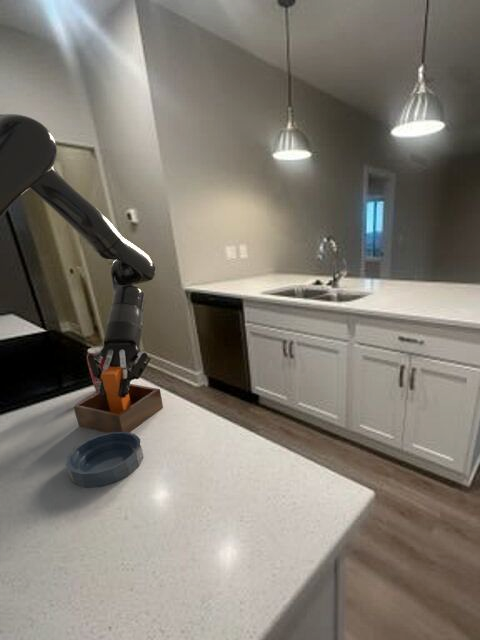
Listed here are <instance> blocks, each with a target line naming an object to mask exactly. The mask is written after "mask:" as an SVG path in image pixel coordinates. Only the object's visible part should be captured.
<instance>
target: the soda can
mask: <svg viewBox="0 0 480 640" xmlns="http://www.w3.org/2000/svg"><path fill="white" fill-rule="evenodd" d="M103 347H104V344H100V345H95V346H91V347H90V348H88V349H87V355H86V362H87V366H88V371H89V374H90V377H91V381H92V385H93V387H94V390H95V392H96V393H98V392H100V386H101V380H99V379H97V378H96V377H94V376H93V373H92V370H91V367H90V363H89V360H88V355H89V354H92V355H96V354H98V353H100V352H101V350H102V348H103ZM104 363H105V360H104V359H103V358H102V359H101V363H100V366H101V369H102V372H103V366H104Z"/></svg>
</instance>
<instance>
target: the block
mask: <svg viewBox="0 0 480 640" xmlns="http://www.w3.org/2000/svg"><path fill="white" fill-rule="evenodd" d="M101 377H102V381H103V385H104V388H105V392H106V396H107V400H108V404H109V408H110V411H111V412H112V413H117V414H119V413H121V412H122V411H124V410H125V409H127V408H128V407H130V406H131V401H130V396H129V393H128V395H126V397H125V398H121V397H119V396H118V392H119V387H120V380H122V369H121V368H120V367H109V368H107V369H106V370H105V371H104V372H103V373H102V374H101Z"/></svg>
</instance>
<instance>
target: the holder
mask: <svg viewBox="0 0 480 640" xmlns="http://www.w3.org/2000/svg"><path fill="white" fill-rule="evenodd" d="M129 396H130V401H131V406H130V407H128V408H127V409H125V410H124V411H122V412H121V413H119V414H117V413H112V412H111V411H110V408H109V404H108V400H107V398H104V397H102V396H101V394H100V392H96V393H95V394H93V395H90V396H89V397H87V398H86V399H84V400H82V401H81V402H78V403H77V404H75V405H73V406H72V408H73V411H74V414H75V418H76V421H77V424H78V427H80V428H84V429H88V430H92V431H97V432H101V433H104V434H106V433H110V432H129V433H132V432H133V431H134V430H135V429H137V428H138V427H140V426H141V425H142V424H143V423H145V422H146V421H147V420H149V419H150V418H151V417H153V416H154V415H156V414H157V413H158V412H160V411H161V410H162V409H164V405H163V398H162V393H161V389H160V388H157V387H150V386H145V385H139V384H133V383H130V386H129Z"/></svg>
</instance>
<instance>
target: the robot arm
mask: <svg viewBox="0 0 480 640" xmlns="http://www.w3.org/2000/svg"><path fill="white" fill-rule="evenodd" d="M57 157H58V147H57V143H56V141H55V138H54V136H53V135H52V132H50V130H49V129H48V128H47V126H45V125H44V124H43V123H41V122H40V121H38V120H36V119H34V118H32V117H29V116H27V115H22V114H17V113H5V114H1V113H0V220H1V219H2V218H3V217H4V216H5V214H6V213H7V211H9V209H10V208H11V206H12V205H13V204H14V203H16V201H17V200H18V199H19V198H20V197H21V196H22V195H23V194H24V193H25V192H27V191H28V190H31V191H32V192H34V194H36V195H37V196H38V197H39V198H40V199H42V201H44V202H45V203H46V204H47V205H49V207H50V208H52V210H54V211H55V212H56V213H57V214H58V215H59V216H60V217H61V218H62V219H63V220H64V221H65V222H66V223H67V224H68V225H69V226H70V227H71V228H72V229H73V230H74V231H75V232H76V233H77V234H78V235H79V236H80V237H81V238H82V239H83V241H85V242H86V243H87V244H88V245H89V247H90V248H92V249H93V250H94V251H95V252H96V253H97V255H99V256H100V257H101V258H103V259H105V260H114V261H113V262H112V264H111V266H110V271H109V273H110V279H111V287H112V292H113V294H112V300H111V306H110V310H109V313H108V316H107V321H106V326H105V332H104V337H103V345H104V347H103V348H102V350H101V352H100V353H98V354H96V355H92V354H89V355H88V354H87V355H88V360H89V363H90V367H91V370H92V373H93V376H94V377H96V378H97V379H99V380H101V386H100V394H101V396H102V397H104V398H107V396H106V392H105V388H104V385H103V381H102V377H101V374H102V373H103V372H104V371H105V370H106V369H107V368H109V367H120V368H121V369H122V380H120V387H119V392H118V396H119V397H121V398H125V397H126V395H128V393H129V386H130V384H131V381H134V380H139V379H140V378H141V376H142V374H143V373H144V371H145V370H146V368H147V367H148V365H149V363H150V362H151V357H150V355H149V354H148V353H146V352H141V351H140V346H141V345H140V343H141V337H142V331H143V327H144V326H143V324H144V323H143V322H144V307H145V300H146V297H145V293H144V291H143V290H142V289H141V288H140V287H137V286H135V285H138V284H143V283H146V282H150V281H152V280H153V279H155V277H156V273H157V269H156V265H155V263H154V261H153V259H152V258H151V257H150V256H149V255H148V254H147V253H146V252H145V251H143V250H142V249H141V248H139V246H136V245H135V244H134V243H132V242H131V241H130V240H129V239H128V238H127V239H126V238H125V237H124V236H123V234H121V232H120V231H119V230H118V229H117V228H116V227H115V226H114V224H113V223H112V222H111V221H110V220H109V219H108V217H106V215H104V213H103V212H101V211H100V210H99V209H98V208H97V207H96V206H95V205H94V204H93V203H92V202H90V201H89V200H87V198H86V197H84V196H83V195H82V194H80V193H79V192H78V191H77V190H75V188H73V186H71V185H70V184H69V183H68V182H67V181H66V180H65V178H63V176H62V175H60V173H59V172H58V171H57V170H56V168H55V167H54V166H55V163H56V161H57ZM102 358H103V359H104V360H105V363H104V366H103V372H102V369H101V366H100V363H101V359H102ZM136 360H137V361H136ZM135 361H136V363H135ZM133 363H135V364H134V366H133Z"/></svg>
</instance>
